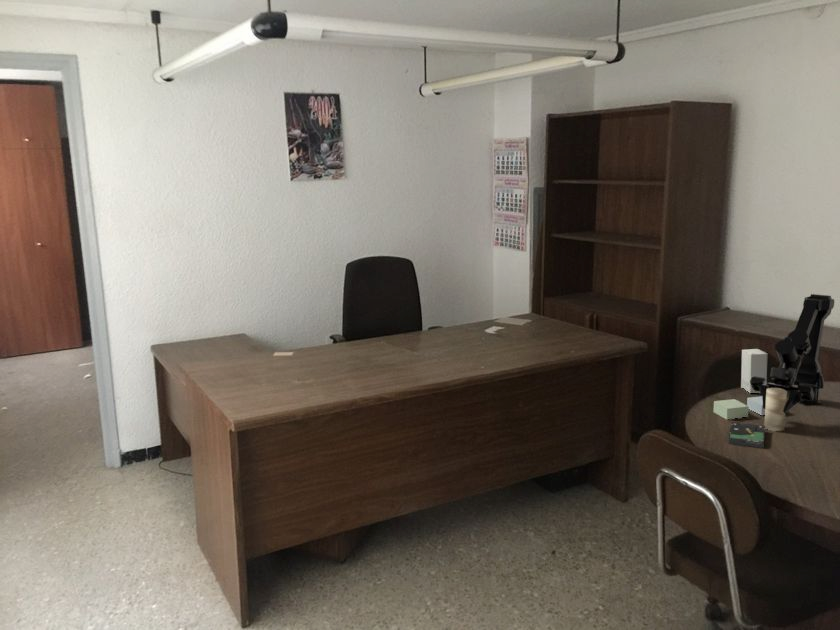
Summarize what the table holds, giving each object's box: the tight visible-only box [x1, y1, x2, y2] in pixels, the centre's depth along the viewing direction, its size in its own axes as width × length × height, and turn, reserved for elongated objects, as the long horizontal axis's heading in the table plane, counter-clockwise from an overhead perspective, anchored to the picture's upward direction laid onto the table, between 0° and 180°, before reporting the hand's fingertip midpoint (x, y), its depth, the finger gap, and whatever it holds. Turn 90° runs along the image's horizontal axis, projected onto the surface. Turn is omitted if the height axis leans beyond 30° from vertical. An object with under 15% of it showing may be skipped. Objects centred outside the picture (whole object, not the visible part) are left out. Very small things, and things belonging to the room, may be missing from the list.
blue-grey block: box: [746, 396, 765, 416], centre depth 249 cm, size 8×8×4 cm
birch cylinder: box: [763, 388, 788, 432], centre depth 232 cm, size 6×6×13 cm
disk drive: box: [727, 421, 766, 449], centre depth 227 cm, size 10×3×15 cm
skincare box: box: [740, 348, 768, 394], centre depth 269 cm, size 8×7×16 cm
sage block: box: [712, 398, 749, 420], centre depth 246 cm, size 8×8×4 cm
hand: (773, 410), depth 231 cm, fingers closed on birch cylinder, 6 cm apart
